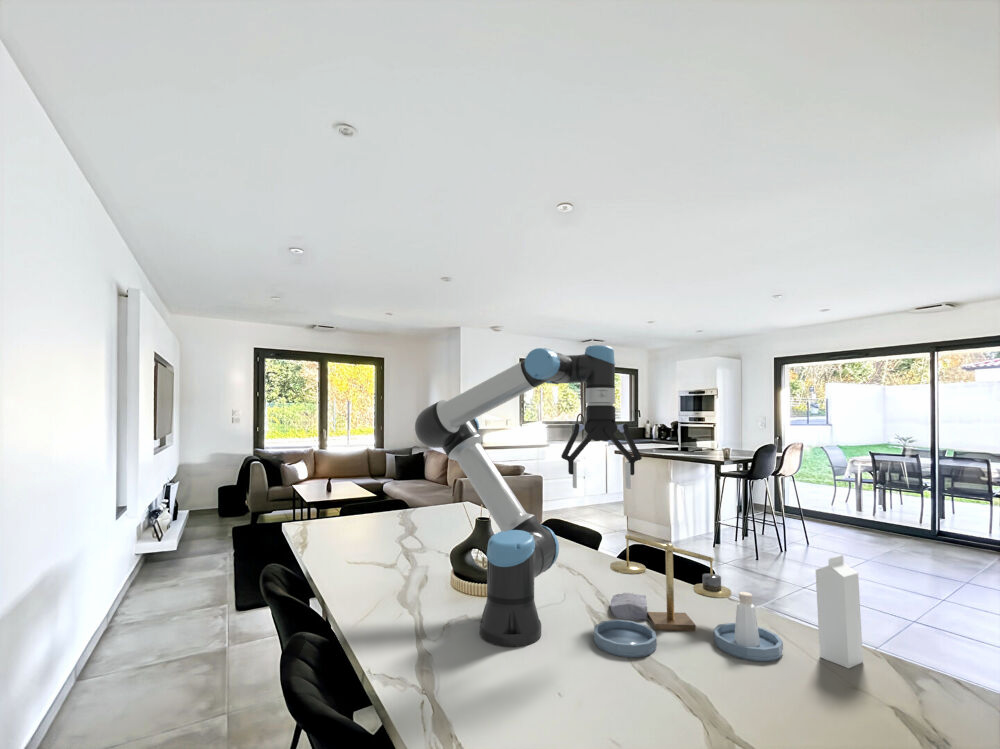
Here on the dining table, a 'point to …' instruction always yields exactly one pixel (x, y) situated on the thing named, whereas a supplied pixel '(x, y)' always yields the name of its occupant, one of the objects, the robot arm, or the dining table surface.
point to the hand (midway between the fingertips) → (601, 488)
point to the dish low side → (763, 653)
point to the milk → (839, 613)
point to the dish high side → (625, 638)
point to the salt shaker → (746, 622)
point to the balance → (670, 619)
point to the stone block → (629, 606)
